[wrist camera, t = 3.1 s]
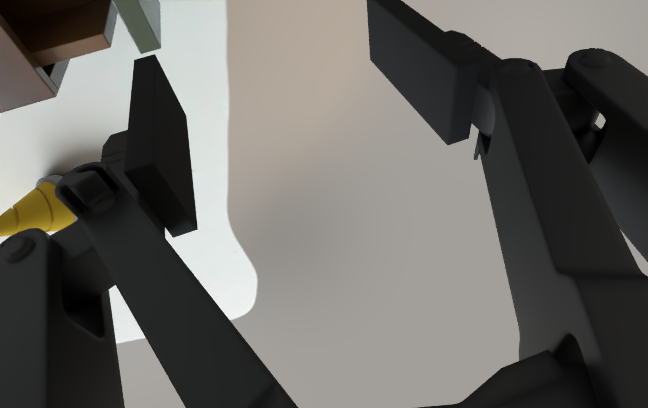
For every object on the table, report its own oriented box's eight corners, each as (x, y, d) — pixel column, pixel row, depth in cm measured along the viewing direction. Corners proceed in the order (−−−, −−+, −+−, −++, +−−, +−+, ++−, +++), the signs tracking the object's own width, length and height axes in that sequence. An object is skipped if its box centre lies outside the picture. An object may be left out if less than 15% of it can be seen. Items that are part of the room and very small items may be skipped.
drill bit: (87, 214, 39) (-28, 264, 30) (68, 165, 37) (-61, 203, 28) (122, 218, 36) (7, 273, 28) (103, 165, 34) (-26, 207, 26)
